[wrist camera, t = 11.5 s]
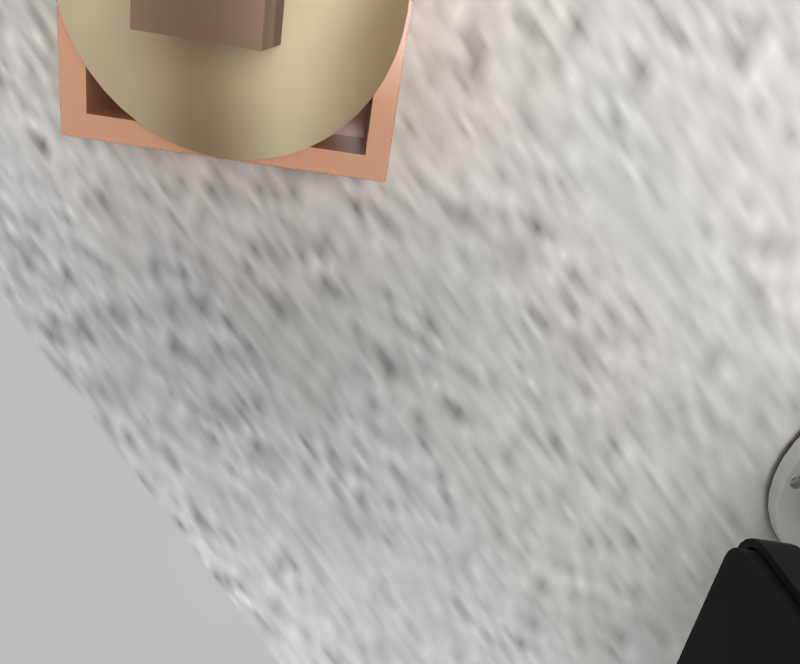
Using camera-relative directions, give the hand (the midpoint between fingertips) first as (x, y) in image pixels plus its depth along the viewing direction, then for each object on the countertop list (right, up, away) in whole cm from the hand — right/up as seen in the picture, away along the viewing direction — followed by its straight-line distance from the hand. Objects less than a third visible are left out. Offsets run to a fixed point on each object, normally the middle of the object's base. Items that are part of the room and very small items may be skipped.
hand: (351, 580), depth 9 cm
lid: (-5, +15, +15) cm, 22 cm away
